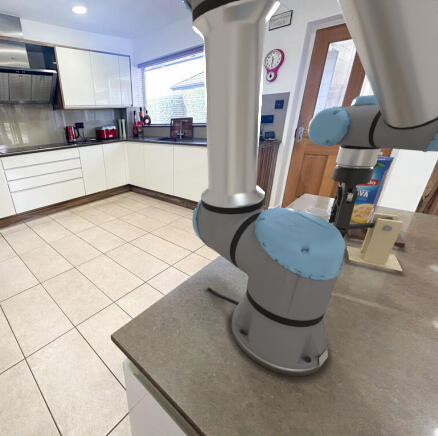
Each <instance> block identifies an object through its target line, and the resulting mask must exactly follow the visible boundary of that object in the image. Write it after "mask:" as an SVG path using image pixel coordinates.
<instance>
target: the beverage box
mask: <svg viewBox="0 0 438 436" xmlns="http://www.w3.org/2000/svg"><path fill="white" fill-rule="evenodd" d="M377 158H378V159H377V162H376V165H374V166H372V167H373V168H374V172H373V175H372V178H371V181H370V182H369V183H367V184H359V185H357V186H356V188H357V191H358V197H357V198H356V201H355V205H354V209H353V213H352V217H351V221H352V222H356V223H358V224H361V223H369V222H370V221H371V220H372V218H373V215H374V212H375V211H376V208H377V205H378V203H379V200H380V197H381V195H382V192H383V189H384V187H385V184H386V181H387V178H388V175H389V172H390V170H391V167H392V164H393V162H394V159H395V157H394V156H393V157H392V156H383V155H382V156H378V157H377ZM339 184H340V183H339V182H338V185H337V187H338V186H339ZM331 211H332V209H331V208H330V214H331ZM332 215H333V214H332ZM351 221H350V222H351Z"/></svg>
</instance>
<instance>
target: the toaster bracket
mask: <svg viewBox="0 0 438 436" xmlns="http://www.w3.org/2000/svg"><path fill="white" fill-rule="evenodd" d="M389 217H392V218H393V220H388V219H381V218H389ZM399 218H400V216H399V215H398V214H391V213H384V212H383V213H382V212H375V211H374V214H373V217H372V219H371V220H370V221H371V223H372V222H375V225H374V228H369V229H368V231H367V234H366V237H365V240H363V242H362V245H361V247H354V246H350V245H349V246H348V245H347V246H346V250H347V255H348V260H349V261H350V262H355V263H360V264H365V265H369V266H374V267H378V268H379V267H380V268H383V269H389V270H392V271H398V272H403V269H402V267H401V264H400V262H399V261H398V259H397V256H396V254H391V253H392V250H393V248H394V247H395V246H394V243H395V241H396V239H397V236H398V234H400V231H401V229H402V226H403V225H404V222H403V221H402V220H399ZM376 219H377V220H376Z"/></svg>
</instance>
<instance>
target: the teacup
mask: <svg viewBox="0 0 438 436" xmlns="http://www.w3.org/2000/svg"><path fill="white" fill-rule="evenodd" d="M303 211H305V212H308V213H311V214H313V215H316V216H318V217H320V218H322V219H324V220H326V221H328V222H329V218H330V215H331V214H330V213H331V211H328V210H327V209H324V208H321V207H320V208H319V207H307V208H304V210H303Z"/></svg>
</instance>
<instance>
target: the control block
mask: <svg viewBox="0 0 438 436" xmlns="http://www.w3.org/2000/svg"><path fill="white" fill-rule="evenodd" d="M350 224H351V223H350ZM350 224H349V225H350ZM368 229H369V228H362V229H350V230H348V233H347V235H348V238H349V239H354V240H358V241H364V240H365V237H366V234H367V231H368ZM393 247H398V248H405V247H406V242H405V240H404V238H403V237H402V235H401V234H400V233H399V234H398V236H397V239H396V241H395V243H394V246H393Z"/></svg>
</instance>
